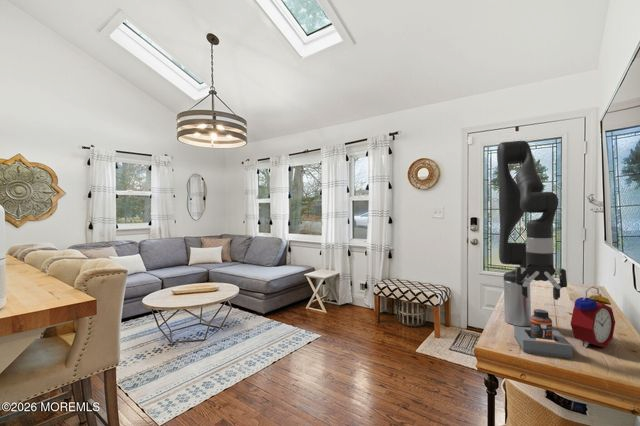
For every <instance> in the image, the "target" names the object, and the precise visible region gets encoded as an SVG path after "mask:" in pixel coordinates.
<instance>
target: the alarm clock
mask: <svg viewBox="0 0 640 426" xmlns="http://www.w3.org/2000/svg"><path fill="white" fill-rule="evenodd" d="M591 289H595V290H596V292H597V293H596V294H597V295H596V294H595V295H594V294H592V295H590V296H589V297H588V291H590V290H591ZM599 290H600V289H599V288H598V287H596V286H591V287H589V288H587V290H585V295H584V297H579V298H576V299H575V301H574V306H573V310H572V313H571V312H566V314H568V315H570V316H571V320H569V322H570V327H571V330H572V334H573V337H574V339H576V340H579V341H581V342H584V343H583V346H584V348H588V347H589V344H591V345H594V346H597V347H600V348H603V349H605V348H606V347H607V346H608V345H609V344H610V342H611V341H612V340H613V338H614V332H615V327H616V320H615V315H614V312H613V308H612V307H610V306H611V304H612V303H611V302H610V299H609V298H608V297H605V296H602V293H600V291H599Z"/></svg>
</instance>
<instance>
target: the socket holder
mask: <svg viewBox="0 0 640 426" xmlns="http://www.w3.org/2000/svg"><path fill="white" fill-rule="evenodd" d="M513 326H514V327H513V328H514V329H513V330H514V331H513V332H514V333H513V335H514V339H515V340H516V342H517V344H518V346H519V348H520V349H521V350H522V352H523V353H528V354H534V355H542V356H549V357H556V358H557V357H558V358H564V359H565V358H567V359H573V357H574V356H573V354H574V353H573V345H572V344H571V343H570V342H569V341H568V340H567V339H566V338H565V337H564V336H563V335H562V333H560V332H559V331H558V330H556V329H555V330H553V329H552V340H547V339H539V338H536V339H534V338H531V327H528V326H517V325H513Z"/></svg>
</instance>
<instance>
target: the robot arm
mask: <svg viewBox="0 0 640 426" xmlns="http://www.w3.org/2000/svg"><path fill="white" fill-rule="evenodd" d="M496 160H497V169H498V170H497V172H498V181H499V182H498V207H499V208H498V211H499V212H498V215H499V239H498V240H499V241H498V242H499V243H498V244H499V246H498V259H499V262H500V264H502V265H512V266H513V265H514V266H515V269H514V270H511V271H507V272H504V273H503V303H504V304H503V306H504V307H503V308H504V311H503V312H504V313H503V314H504V315H503V316H504V322H506V323H507V324H509V325H513V326H517V327H528V326H530V327H531V316H532V313H531V312H532V311H531V310H532V309H531V308H532V307H531V283H532V282H533V281H535V282H538V281H542V282H547V281H549V283H550V284H552V286H553V287H552V298H553V300H555V301H558V300H559V299H560V298H561V289H563V288H567V287H568V282H567V281H568V279H567V270H566V269H565V268H562V267H559V268H555V266H554V259H555V258H554V250H555V249H554V241H553V222H554V218H555V216H556V215H555V214H556V212H557V211H558V207H559V198H558V195H557V194H556V193H554V192H552V191H544V189H545V188H544V187H545V186H544V184H543V182H542V181H543V180H542V179H541V177H540V176H539V173H538V172H537V169H536V165H535V160H534V157H533V152H532V149H531V147H530V144H529V143H528V142H527V141H526V140H515V141H514V140H513V141H502V142H500V143H499V144H498V145H497V150H496ZM515 164H522V165H521V166H520V168H519V170H517V172H516V175H515V179H514V178H513V177H512V175H511V172H510V168H509V165H515ZM525 213H528V214H537V213H538V214H542V215H541V216H540V217H538V218H536V219H530V220H528V221H527V222H526V241H525V242H509V239H510V236H511V234H512V232H513V230H514V229H515V227H516V225H517V224H518V223H519V222H520V221H521V219H522V218H523V216H524V214H525ZM555 273H556V274H557V275H558V276H559V277H558V279H559V282H557V280H555V278H553V276H554V275H555Z"/></svg>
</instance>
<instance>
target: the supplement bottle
mask: <svg viewBox="0 0 640 426" xmlns="http://www.w3.org/2000/svg"><path fill="white" fill-rule="evenodd" d="M530 328H531V338H534V339H536V338H539V339H547V340H552V330H553V320H552V318H551V317H550V316H549V311H548V310H545V309H542V308H541V309H539V308H536V309H533V315H532V314H531V325H530Z"/></svg>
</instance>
